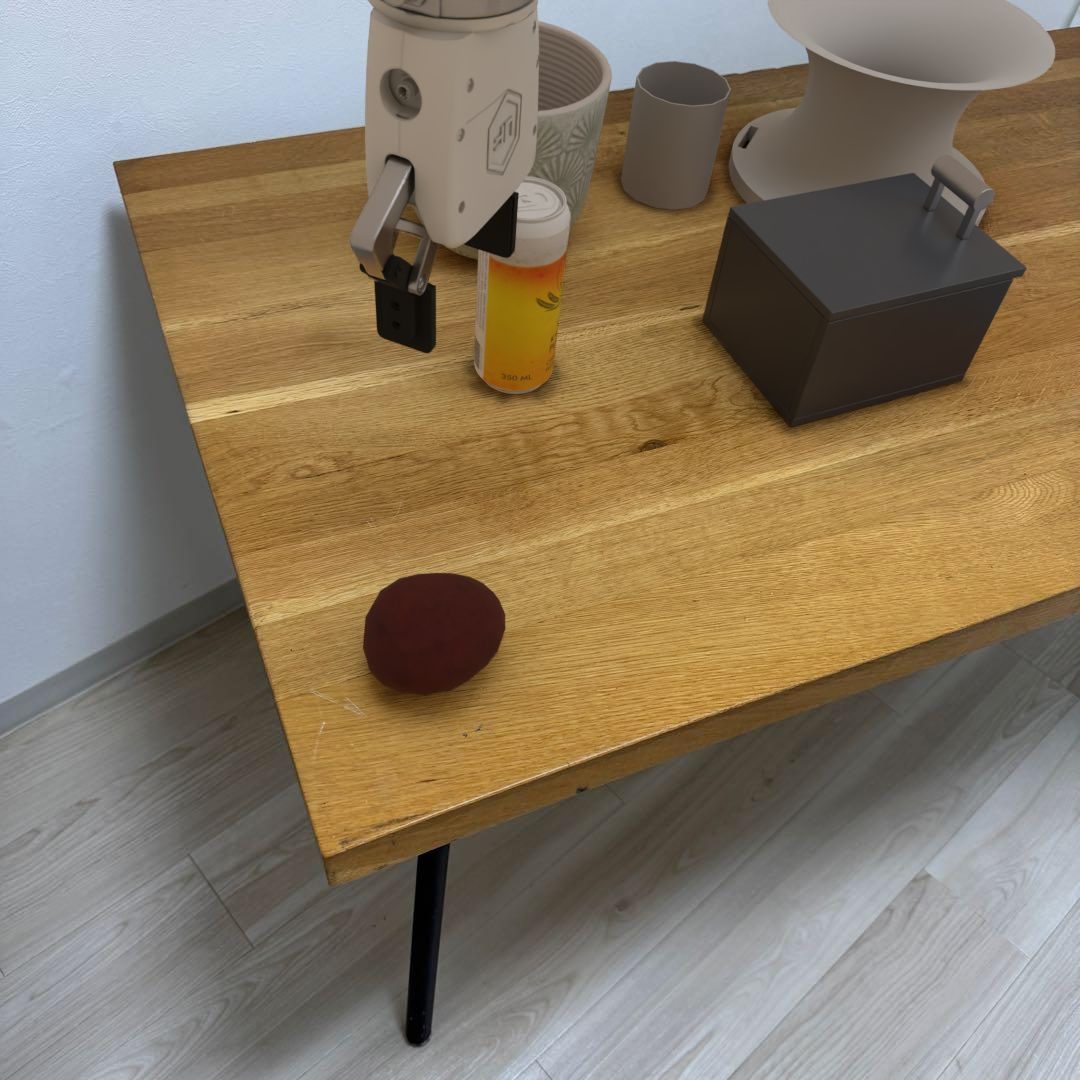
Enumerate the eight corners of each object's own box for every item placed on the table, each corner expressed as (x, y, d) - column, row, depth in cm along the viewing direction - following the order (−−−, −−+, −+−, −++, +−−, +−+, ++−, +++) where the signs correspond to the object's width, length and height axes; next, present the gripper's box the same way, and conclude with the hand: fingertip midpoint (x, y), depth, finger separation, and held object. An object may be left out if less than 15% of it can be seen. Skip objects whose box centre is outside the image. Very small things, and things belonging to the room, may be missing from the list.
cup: (722, 182, 100) (745, 81, 92) (684, 219, 95) (705, 116, 87) (646, 153, 102) (663, 52, 95) (605, 188, 98) (619, 84, 90)
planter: (437, 166, 98) (437, -2, 86) (609, 205, 96) (633, 39, 84) (368, 262, 87) (359, 86, 75) (561, 309, 85) (581, 134, 73)
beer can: (564, 390, 78) (586, 215, 67) (489, 405, 77) (499, 229, 65) (535, 341, 82) (552, 167, 70) (463, 355, 80) (468, 179, 69)
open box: (863, 284, 91) (902, 183, 83) (962, 381, 83) (1014, 279, 75) (701, 320, 85) (727, 216, 78) (790, 427, 78) (828, 323, 70)
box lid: (910, 181, 83) (933, 122, 80) (1022, 276, 76) (1053, 216, 72) (727, 215, 78) (742, 154, 74) (828, 322, 70) (851, 260, 66)
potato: (526, 680, 61) (535, 610, 56) (396, 739, 58) (392, 671, 53) (468, 592, 65) (471, 519, 60) (344, 643, 62) (335, 571, 57)
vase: (947, 131, 110) (1009, -24, 99) (1012, 268, 94) (1095, 102, 82) (717, 111, 109) (752, -48, 97) (743, 246, 93) (788, 75, 81)
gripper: (436, 60, 38) (437, 409, 51) (607, -82, 48) (571, 236, 61) (261, 10, 39) (305, 361, 52) (464, -117, 50) (459, 200, 63)
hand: (449, 293), depth 57 cm, fingers open, 9 cm apart
